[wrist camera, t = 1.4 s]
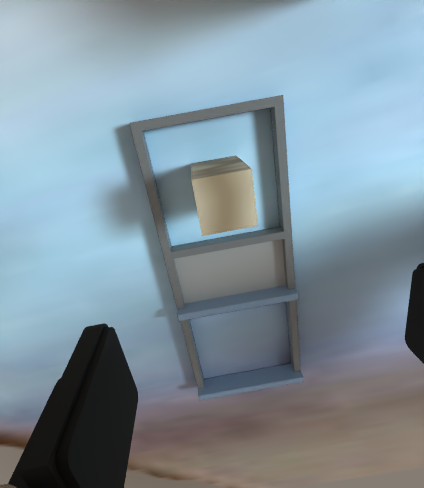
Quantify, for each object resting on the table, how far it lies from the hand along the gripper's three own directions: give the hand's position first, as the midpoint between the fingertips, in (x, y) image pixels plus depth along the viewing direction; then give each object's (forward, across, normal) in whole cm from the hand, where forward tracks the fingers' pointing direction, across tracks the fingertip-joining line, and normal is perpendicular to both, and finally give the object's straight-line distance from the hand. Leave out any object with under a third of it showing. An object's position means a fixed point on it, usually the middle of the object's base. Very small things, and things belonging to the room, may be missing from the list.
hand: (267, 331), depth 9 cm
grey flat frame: (+23, -1, +10) cm, 25 cm away
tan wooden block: (+23, -1, 0) cm, 23 cm away
